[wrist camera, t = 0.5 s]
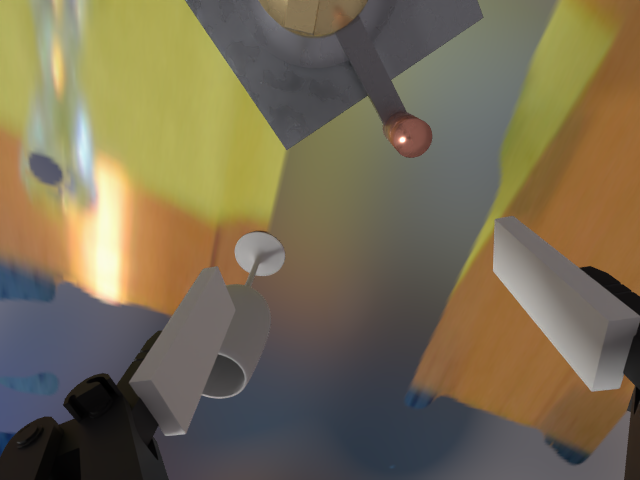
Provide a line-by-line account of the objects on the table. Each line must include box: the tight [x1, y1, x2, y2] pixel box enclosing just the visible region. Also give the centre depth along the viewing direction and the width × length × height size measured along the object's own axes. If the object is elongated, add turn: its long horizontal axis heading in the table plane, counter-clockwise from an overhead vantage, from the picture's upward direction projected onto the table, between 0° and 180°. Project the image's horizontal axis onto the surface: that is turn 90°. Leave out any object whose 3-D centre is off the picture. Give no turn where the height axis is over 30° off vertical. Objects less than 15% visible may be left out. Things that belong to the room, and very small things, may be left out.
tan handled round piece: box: [258, 0, 432, 158], centre depth 27 cm, size 23×11×7 cm, turn 33°
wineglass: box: [202, 231, 285, 398], centre depth 37 cm, size 8×8×21 cm
